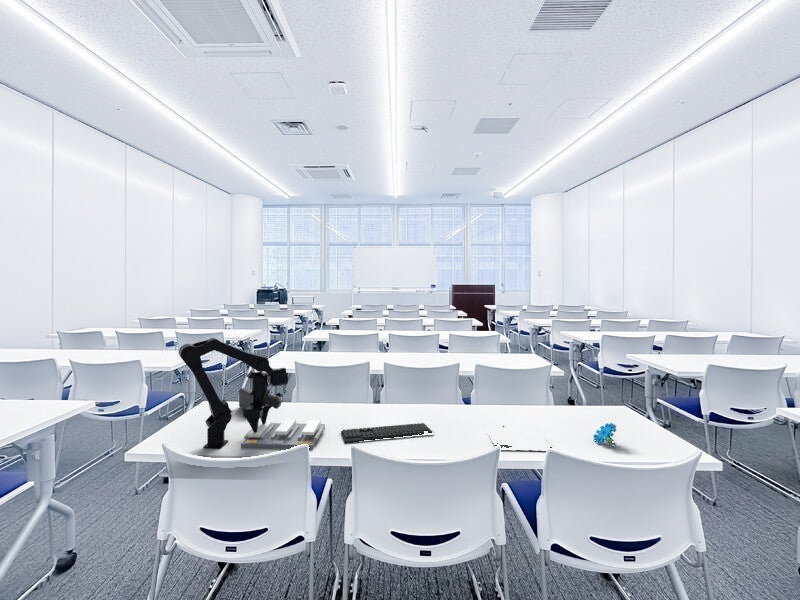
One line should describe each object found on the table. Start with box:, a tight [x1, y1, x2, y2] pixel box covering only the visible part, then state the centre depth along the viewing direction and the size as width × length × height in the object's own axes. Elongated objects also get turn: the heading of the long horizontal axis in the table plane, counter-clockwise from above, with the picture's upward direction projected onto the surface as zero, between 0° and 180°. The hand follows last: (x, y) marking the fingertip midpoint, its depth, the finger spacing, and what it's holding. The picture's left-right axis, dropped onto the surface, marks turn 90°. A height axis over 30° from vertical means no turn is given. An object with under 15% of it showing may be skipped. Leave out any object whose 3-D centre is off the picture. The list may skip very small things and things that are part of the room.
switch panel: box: [240, 422, 326, 450], centre depth 161 cm, size 22×27×2 cm
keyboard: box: [340, 422, 433, 444], centre depth 166 cm, size 35×11×2 cm, turn 106°
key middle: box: [275, 419, 297, 435], centre depth 161 cm, size 13×4×1 cm, turn 179°
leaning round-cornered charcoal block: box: [238, 387, 254, 411], centre depth 193 cm, size 16×5×9 cm, turn 41°
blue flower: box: [593, 422, 617, 446], centre depth 159 cm, size 11×6×10 cm
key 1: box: [247, 421, 272, 437], centre depth 161 cm, size 13×4×1 cm, turn 179°
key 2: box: [302, 419, 322, 435], centre depth 161 cm, size 13×4×1 cm, turn 179°
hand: (259, 428), depth 161 cm, fingers open, 9 cm apart
